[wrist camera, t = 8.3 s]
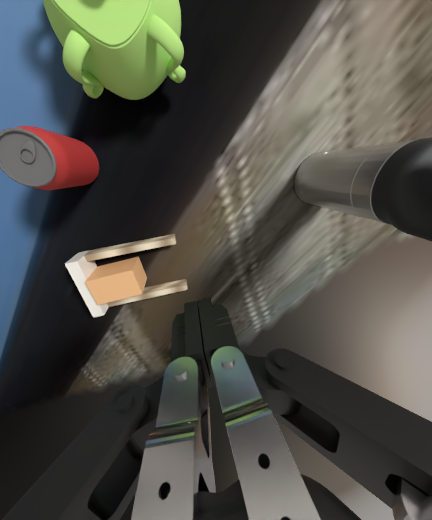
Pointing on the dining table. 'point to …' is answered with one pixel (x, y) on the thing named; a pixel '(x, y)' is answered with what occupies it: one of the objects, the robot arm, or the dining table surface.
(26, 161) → the beer can
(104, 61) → the green sugar bowl
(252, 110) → the dining table surface
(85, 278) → the stop block
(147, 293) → the guide lane
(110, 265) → the block
